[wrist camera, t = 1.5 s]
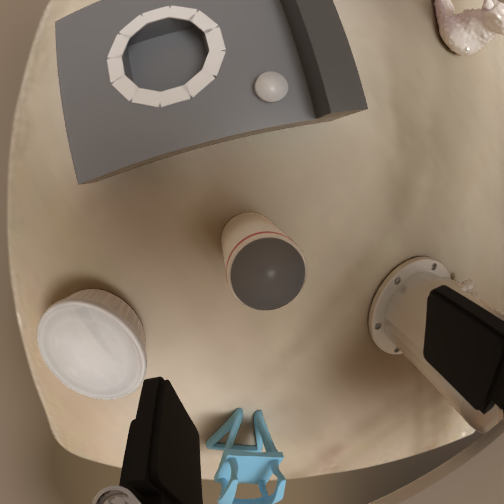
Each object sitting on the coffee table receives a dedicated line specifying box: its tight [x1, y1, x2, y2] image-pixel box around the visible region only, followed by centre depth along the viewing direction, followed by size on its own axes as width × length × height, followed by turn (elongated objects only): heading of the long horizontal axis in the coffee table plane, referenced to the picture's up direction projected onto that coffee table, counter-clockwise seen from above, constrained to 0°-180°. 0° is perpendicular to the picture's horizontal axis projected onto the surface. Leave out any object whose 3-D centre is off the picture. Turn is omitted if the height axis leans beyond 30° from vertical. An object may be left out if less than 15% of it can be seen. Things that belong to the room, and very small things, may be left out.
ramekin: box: [37, 289, 147, 400], centre depth 25 cm, size 11×11×5 cm
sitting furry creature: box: [433, 0, 504, 56], centre depth 17 cm, size 10×9×12 cm
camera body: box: [55, 0, 368, 185], centre depth 19 cm, size 22×16×7 cm
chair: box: [206, 408, 286, 504], centre depth 28 cm, size 8×8×12 cm
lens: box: [221, 212, 306, 310], centre depth 23 cm, size 5×5×9 cm
